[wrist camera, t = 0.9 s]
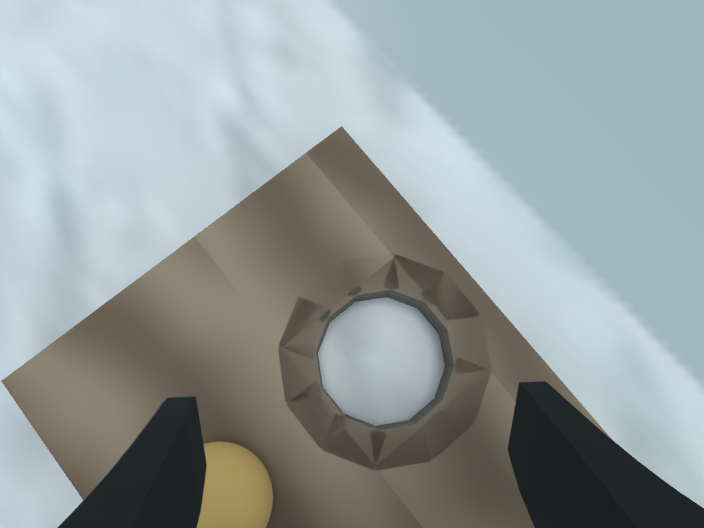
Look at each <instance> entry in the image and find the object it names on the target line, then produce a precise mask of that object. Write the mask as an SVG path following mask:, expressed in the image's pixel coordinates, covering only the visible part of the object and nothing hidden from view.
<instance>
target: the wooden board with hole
mask: <svg viewBox="0 0 704 528" xmlns="http://www.w3.org/2000/svg"><path fill="white" fill-rule="evenodd" d="M381 297H390V298H393V299H395V300H398V301H401V302H403V303H406V304H408V305H411V306H414V307H416V308H418V309H419V310H420V311H421V312H422V314H423V315H424V316H425V317H426V318H427V320H428V321H429V322H430V323H431V324H432V325H433V327H434V328H435V329H436V330H437V331H438V333H439V335H440V340H441V345H442V350H443V356H444V361H445V366H446V367H445V370H444V373H443V376H442V379H441V381H440V384H439V387H438V390H437V393H436V396H435V399H434V400H432V401H431V402H430V403H429V404H428V405H427V406H425V407H424V408H423V409H422V410H421V411H420V412H418V413H417V414H416V415H415V416H414V417H413V418H411V419H410V420H409V421H404V422H398V423H392V424H386V425H380V426H374V425H371V424H368V423H366V422H363V421H361V420H358V419H356V418H353V417H351V416H348V415H346V414H343V412H342V411H341V410H340V408H339V407H338V406H337V405H336V403H335V402H334V401H333V400H332V398H331V397H330V396H329V394H328V393H327V392H326V391H325V389H324V388H323V387H322V380H321V373H320V366H319V360H318V351H319V348H320V346H321V343H322V341H323V338H324V335H325V333H326V330H327V328H328V325H329V323H330V321H332V320H333V319H334V318H335V317H337V316H338V315H339V314H340V313H342V312H343V311H344V310H345V309H347V308H348V307H349V306H350V305H352V304H353V303H354V302H356V301H362V300H368V299H375V298H381ZM538 381H546V382H547V383H548V384H549V385H551V386H552V387H553V388H554V389H555V390H556V391H557V392H558V393H560V394H561V395H562V396H563V397H564V398H565V399H566V400H567V401H568V402H570V403H571V404H572V405H573V406H574V407H575V408H576V409H577V410H578V411H580V412H581V413H582V414H583V415H584V416H585V417H586V418H587V419H589V420H590V421H591V422H592V423H593V424H594V425H595V426H596V427H598V428H599V429H600V430H601V431H602V432H603V433H605V434H606V435H607V436H608V434H607V433H606V432H605V431H604V430H603V429H602V428H601V426H600V425H599V424H598V423H597V422H596V421H595V419H594V418H593V417H592V416H591V415H590V414H589V412H588V411H587V410H586V409H585V408H584V407H583V406H582V404H581V403H580V402H579V401H578V400H577V399H576V397H575V396H574V395H573V394H572V393H571V392H570V390H569V389H568V388H567V387H566V386H565V385H564V383H563V382H562V381H561V380H560V379H559V378H558V377H557V375H556V374H555V373H554V372H553V371H552V370H551V368H550V367H549V366H548V365H547V364H546V363H545V361H544V360H543V359H542V358H541V357H540V356H539V355H538V353H537V352H536V351H535V350H534V349H533V348H532V346H531V345H530V344H529V343H528V342H527V341H526V339H525V338H524V337H523V336H522V335H521V334H520V332H519V331H518V330H517V329H516V328H515V327H514V326H513V324H512V323H511V322H510V321H509V320H508V319H507V317H506V316H505V315H504V314H503V313H502V312H501V310H500V309H499V308H498V307H497V306H496V305H495V304H494V302H493V301H492V300H491V299H490V298H489V297H488V295H487V294H486V293H485V292H484V291H483V290H482V288H481V287H480V286H479V285H478V284H477V283H476V281H475V280H474V279H473V278H472V277H471V276H470V275H469V273H468V272H467V271H466V270H465V269H464V268H463V266H462V265H461V264H460V263H459V262H458V261H457V259H456V258H455V257H454V256H453V255H452V254H451V253H450V251H449V250H448V249H447V248H446V247H445V246H444V244H443V243H442V242H441V241H440V240H439V239H438V237H437V236H436V235H435V234H434V233H433V232H432V230H431V229H430V228H429V227H428V226H427V225H426V224H425V222H424V221H423V220H422V219H421V218H420V217H419V215H418V214H417V213H416V212H415V211H414V210H413V208H412V207H411V206H410V205H409V204H408V203H407V202H406V200H405V199H404V198H403V197H402V196H401V195H400V193H399V192H398V191H397V190H396V189H395V188H394V186H393V185H392V184H391V183H390V182H389V181H388V179H387V178H386V177H385V176H384V175H383V174H382V173H381V171H380V170H379V169H378V168H377V167H376V166H375V164H374V163H373V162H372V161H371V160H370V159H369V157H368V156H367V155H366V154H365V153H364V152H363V151H362V149H361V148H360V147H359V146H358V145H357V144H356V142H355V141H354V140H353V139H352V138H351V137H350V135H349V134H348V133H347V132H346V131H345V130H344V129H343V127H342V126H341V127H340V128H339V129H337V130H336V131H335V132H333V133H332V134H331V135H329V136H328V137H327V138H325V139H324V140H323V141H321V142H320V143H319V144H317V145H316V146H315V147H313V148H312V149H311V150H309V151H308V152H307V153H305V154H304V155H303V156H301V157H300V158H299V159H297V160H296V161H295V162H293V163H292V164H291V165H289V166H288V167H287V168H285V169H284V170H283V171H281V172H280V173H279V174H277V175H276V176H275V177H273V178H272V179H271V180H269V181H268V182H267V183H265V184H264V185H263V186H261V187H260V188H259V189H257V190H256V191H255V192H253V193H252V194H251V195H249V196H248V197H247V198H245V199H244V200H243V201H241V202H240V203H239V204H237V205H236V206H235V207H233V208H232V209H231V210H229V211H228V212H227V213H225V214H224V215H223V216H221V217H220V218H219V219H217V220H216V221H215V222H213V223H212V224H211V225H209V226H208V227H207V228H205V229H204V230H203V231H201V232H200V233H199V234H197V235H196V236H195V237H193V238H192V239H191V240H189V241H188V242H187V243H185V244H184V245H183V246H181V247H180V248H179V249H177V250H176V251H175V252H173V253H172V254H171V255H169V256H168V257H167V258H165V259H164V260H163V261H161V262H160V263H159V264H157V265H156V266H155V267H153V268H152V269H151V270H149V271H148V272H147V273H145V274H144V275H143V276H141V277H140V278H139V279H137V280H136V281H135V282H133V283H132V284H131V285H129V286H128V287H127V288H125V289H124V290H122V291H121V292H120V293H118V294H117V295H116V296H114V297H113V298H112V299H110V300H109V301H108V302H106V303H105V304H104V305H102V306H101V307H100V308H98V309H97V310H96V311H94V312H93V313H92V314H90V315H89V316H88V317H86V318H85V319H84V320H82V321H81V322H80V323H78V324H77V325H76V326H74V327H73V328H72V329H70V330H69V331H68V332H66V333H65V334H64V335H62V336H61V337H60V338H58V339H57V340H56V341H54V342H53V343H52V344H50V345H49V346H48V347H46V348H45V349H44V350H42V351H41V352H40V353H38V354H37V355H36V356H34V357H33V358H32V359H30V360H29V361H28V362H26V363H25V364H24V365H22V366H21V367H20V368H18V369H17V370H16V371H14V372H13V373H12V374H10V375H9V376H8V377H6V378H5V379H4V380H2V383H3V384H4V386H5V387H6V388H7V390H8V391H9V393H10V394H11V396H12V397H13V399H14V400H15V402H16V403H17V404H18V406H19V407H20V409H21V410H22V412H23V413H24V415H25V416H26V417H27V419H28V420H29V422H30V423H31V425H32V426H33V428H34V429H35V431H36V432H37V433H38V435H39V436H40V438H41V439H42V441H43V442H44V444H45V445H46V447H47V448H48V449H49V451H50V452H51V454H52V455H53V457H54V458H55V460H56V461H57V462H58V464H59V465H60V467H61V468H62V470H63V471H64V473H65V474H66V476H67V477H68V478H69V480H70V481H71V483H72V484H73V486H74V487H75V489H76V490H77V492H78V493H79V494H80V496H81V497H82V499H83V500H84V499H85V498H86V497H87V496H88V495H89V494H90V493H91V492H92V490H93V489H94V488H95V487H96V486H97V485H98V484H99V483H100V482H101V480H102V479H103V478H104V477H105V476H106V475H107V474H108V472H109V471H110V470H111V469H112V468H113V466H114V465H115V464H116V463H117V461H118V460H119V459H120V458H121V456H122V455H123V454H124V453H125V452H126V450H127V449H128V448H129V447H130V445H131V444H132V443H133V442H134V440H135V439H136V438H137V436H138V435H139V434H140V432H141V431H142V430H143V428H144V427H145V426H146V425H147V423H148V422H149V420H150V419H151V418H152V416H153V415H154V414H155V412H156V411H157V410H158V408H159V407H160V406H161V404H162V403H163V402H164V401H165V400H166V399H167V398H171V397H194V396H196V401H197V407H198V413H199V419H200V425H201V432H202V438H203V444H205V443H209V442H217V441H222V442H231V443H235V444H238V445H241V446H243V447H245V448H246V449H248V450H250V451H251V452H252V453H253V454H255V455H256V456H257V457H258V458H259V460H260V461H261V462H262V463H263V465H264V466H265V468H266V470H267V472H268V474H269V477H270V480H271V483H272V489H273V505H272V511H271V515H270V518H269V521H268V524H267V526H266V528H535V527H534V525H533V522H532V520H531V518H530V515H529V513H528V511H527V508H526V506H525V503H524V501H523V499H522V496H521V494H520V491H519V488H518V484H517V481H516V478H515V474H514V471H513V467H512V464H511V460H510V456H509V453H508V444H509V438H510V432H511V426H512V421H513V415H514V409H515V403H516V397H517V391H518V386H519V382H538ZM608 437H609V436H608ZM609 438H610V437H609ZM610 439H611V438H610Z"/></svg>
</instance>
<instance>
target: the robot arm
mask: <svg viewBox="0 0 704 528" xmlns="http://www.w3.org/2000/svg"><path fill="white" fill-rule="evenodd" d="M508 453H509V456H510V460H511V464H512V467H513V471H514V474H515V478H516V481H517V484H518V488H519V491H520V494H521V496H522V499H523V501H524V503H525V506H526V508H527V511H528V513H529V515H530V518H531V520H532V522H533V525H534V527H535V528H704V508H702V507H701V506H699V505H698V504H696V503H695V502H693V501H692V500H690V499H689V498H687V497H686V496H684V495H683V494H681V493H680V492H678V491H677V490H676V489H674V488H673V487H672V486H670V485H669V484H667V483H666V482H665V481H663V480H662V479H661V478H659V477H658V476H657V475H655V474H654V473H653V472H651V471H650V470H649V469H648V468H646V467H645V466H644V465H642V464H641V463H640V462H638V461H637V460H636V459H635V458H633V457H632V456H631V455H630V454H628V453H627V452H626V451H625V450H624V449H622V448H621V447H620V446H619V445H618V444H616V443H615V442H614V441H613V440H612V439H610V438H609V437H608V436H607V435H606V434H605V433H603V432H602V431H601V430H600V429H599V428H598V427H596V426H595V425H594V424H593V423H592V422H591V421H590V420H589V419H587V418H586V417H585V416H584V415H583V414H582V413H581V412H580V411H578V410H577V409H576V408H575V407H574V406H573V405H572V404H571V403H570V402H568V401H567V400H566V399H565V398H564V397H563V396H562V395H561V394H560V393H558V392H557V391H556V390H555V389H554V388H553V387H552V386H551V385H549V384H548V383H547V382H546V381H538V382H519V386H518V391H517V397H516V403H515V409H514V415H513V421H512V426H511V432H510V438H509V444H508ZM206 467H207V463H206V456H205V450H204V444H203V438H202V432H201V425H200V419H199V413H198V407H197V401H196V396H194V397H171V398H167V399H166V400H165V401H164V402H163V403H162V404H161V406H160V407H159V408H158V410H157V411H156V412H155V414H154V415H153V416H152V418H151V419H150V420H149V422H148V423H147V425H146V426H145V427H144V428H143V430H142V431H141V432H140V434H139V435H138V436H137V438H136V439H135V440H134V442H133V443H132V444H131V445H130V447H129V448H128V449H127V450H126V452H125V453H124V454H123V455H122V456H121V458H120V459H119V460H118V461H117V463H116V464H115V465H114V466H113V468H112V469H111V470H110V471H109V472H108V474H107V475H106V476H105V477H104V478H103V479H102V480H101V482H100V483H99V484H98V485H97V486H96V487H95V488H94V489H93V490H92V492H91V493H90V494H89V495H88V496H87V497H86V498H85V499H84V500H83V502H82V503H81V504H80V505H79V506H78V507H77V508H76V509H75V510H74V511H73V512H72V513H71V514H70V515H69V517H68V518H67V519H66V520H65V521H64V522H63V523H62V524H61V525H60V526H59V527H58V528H197V524H198V520H199V516H200V512H201V506H202V499H203V491H204V484H205V475H206Z"/></svg>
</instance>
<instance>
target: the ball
mask: <svg viewBox="0 0 704 528" xmlns="http://www.w3.org/2000/svg"><path fill="white" fill-rule="evenodd" d="M204 450H205V456H206V463H207V467H206V475H205V484H204V491H203V499H202V506H201V512H200V516H199V520H198V524H197V528H266V526H267V524H268V521H269V518H270V515H271V511H272V505H273V489H272V483H271V480H270V477H269V474H268V472H267V470H266V468H265V466H264V465H263V463H262V462H261V461H260V460H259V458H258V457H257V456H256V455H255V454H253V453H252V452H251V451H250V450H248V449H246V448H245V447H243V446H241V445H238V444H235V443H231V442H222V441H217V442H209V443H205V444H204Z"/></svg>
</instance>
